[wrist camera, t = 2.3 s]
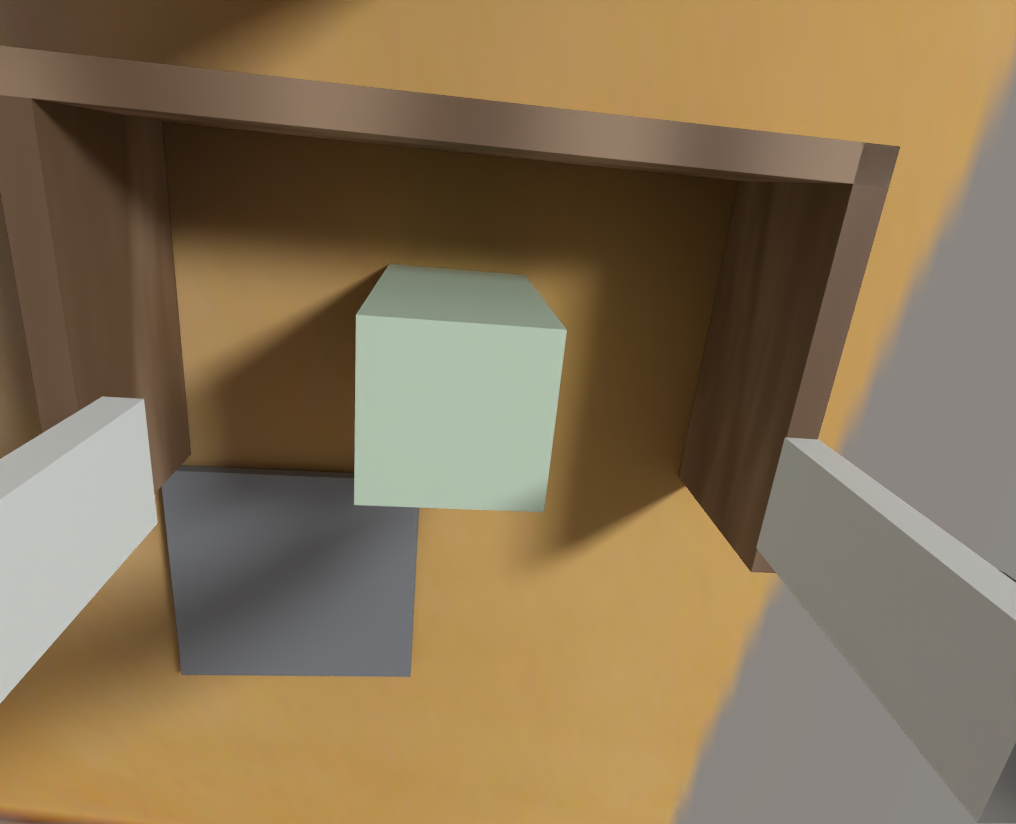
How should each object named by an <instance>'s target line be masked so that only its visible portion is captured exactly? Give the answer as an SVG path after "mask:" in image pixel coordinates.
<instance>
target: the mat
mask: <svg viewBox="0 0 1016 824" xmlns="http://www.w3.org/2000/svg"><path fill="white" fill-rule="evenodd" d="M162 495H163V505H164V514H165V524H166V533H167V542H168V552H169V561H170V570H171V580H172V589H173V599H174V608H175V617H176V627H177V636H178V645H179V655H180V664H181V674H182V675H269V676H396V677H410V673H411V655H412V635H413V614H414V594H415V574H416V554H417V534H418V513H419V507H394V506H367V505H354V473H343V472H320V471H297V470H274V469H251V468H229V467H206V466H183V465H181V466H180V467H179V468H178V469H177V470H176V471H175V472H174V473H173V474H172V475H171V476H170V478H169V479H168V480H167V481H166V482H165V483H164V484H163V485H162Z"/></svg>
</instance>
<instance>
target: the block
mask: <svg viewBox="0 0 1016 824" xmlns="http://www.w3.org/2000/svg"><path fill="white" fill-rule="evenodd" d="M566 333H567V329H566V328H565V327H564V325H563V324H562V323H561V321H560V320H559V319H558V318H557V316H556V315H555V314H554V312H553V311H552V310H551V308H550V307H549V306H548V304H547V303H546V302H545V301H544V299H543V298H542V297H541V295H540V294H539V293H538V291H537V290H536V289H535V287H534V286H533V285H532V284H531V282H530V281H529V280H528V278H527V277H526V276H525V275H521V274H509V273H496V272H484V271H472V270H459V269H447V268H435V267H422V266H410V265H398V264H389V265H388V267H387V268H386V270H385V271H384V273H383V274H382V276H381V277H380V279H379V280H378V282H377V283H376V285H375V287H374V288H373V290H372V291H371V293H370V294H369V296H368V297H367V299H366V300H365V302H364V303H363V305H362V306H361V308H360V309H359V311H358V312H357V314H356V365H355V465H354V505H367V506H394V507H420V508H446V509H473V510H499V511H526V512H544V508H545V500H546V492H547V484H548V476H549V468H550V460H551V452H552V444H553V436H554V428H555V420H556V412H557V405H558V397H559V389H560V381H561V373H562V365H563V357H564V349H565V341H566Z"/></svg>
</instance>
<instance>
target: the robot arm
mask: <svg viewBox="0 0 1016 824" xmlns="http://www.w3.org/2000/svg"><path fill="white" fill-rule="evenodd" d="M156 525H157V514H156V505H155V495H154V486H153V477H152V468H151V459H150V449H149V440H148V431H147V422H146V413H145V403H144V399H136V398H119V397H103V396H102V397H101V398H99V399H97V400H96V401H94V402H93V403H91V404H89V405H88V406H86V407H84V408H83V409H81V410H79V411H78V412H76V413H75V414H73V415H71V416H70V417H68V418H66V419H65V420H63V421H61V422H60V423H58V424H57V425H55V426H53V427H52V428H50V429H48V430H47V431H45V432H43V433H42V434H40V435H39V436H37V437H35V438H34V439H32V440H30V441H29V442H27V443H25V444H24V445H22V446H21V447H19V448H17V449H16V450H14V451H12V452H11V453H9V454H7V455H6V456H4V457H3V458H1V459H0V703H1V702H2V701H3V700H4V699H5V697H6V696H7V695H8V694H9V693H10V692H11V690H12V689H13V688H14V687H15V686H16V685H17V684H18V682H19V681H20V680H21V679H22V678H23V677H24V676H25V674H26V673H27V672H28V671H29V670H30V669H31V668H32V666H33V665H34V664H35V663H36V662H37V661H38V660H39V658H40V657H41V656H42V655H43V654H44V653H45V652H46V650H47V649H48V648H49V647H50V646H51V645H52V644H53V642H54V641H55V640H56V639H57V638H58V637H59V636H60V634H61V633H62V632H63V631H64V630H65V629H66V628H67V626H68V625H69V624H70V623H71V622H72V621H73V620H74V618H75V617H76V616H77V615H78V614H79V613H80V612H81V610H82V609H83V608H84V607H85V606H86V605H87V604H88V602H89V601H90V600H91V599H92V598H93V597H94V596H95V594H96V593H97V592H98V591H99V590H100V589H101V587H102V586H103V585H104V584H105V583H106V582H107V581H108V579H109V578H110V577H111V576H112V575H113V574H114V573H115V571H116V570H117V569H118V568H119V567H120V566H121V565H122V563H123V562H124V561H125V560H126V559H127V558H128V557H129V555H130V554H131V553H132V552H133V551H134V550H135V549H136V547H137V546H138V545H139V544H140V543H141V542H142V541H143V539H144V538H145V537H146V536H147V535H148V534H149V533H150V531H151V530H152V529H153V528H154V527H155V526H156ZM756 549H757V550H758V551H759V552H760V554H761V555H762V556H763V557H764V559H765V560H766V561H767V562H768V564H769V565H770V566H771V567H772V568H773V570H774V571H775V572H776V573H777V575H778V576H779V577H780V578H781V580H782V581H783V582H784V583H785V585H786V586H787V587H788V588H789V590H790V591H791V592H792V593H793V595H794V596H795V597H796V598H797V599H798V601H799V602H800V603H801V604H802V606H803V607H804V608H805V610H806V611H807V612H808V613H809V614H810V616H811V617H812V618H813V619H814V621H815V622H816V623H817V624H818V626H819V627H820V628H821V629H822V631H823V632H824V633H825V634H826V636H827V637H828V638H829V639H830V641H831V642H832V643H833V644H834V645H835V647H836V648H837V649H838V651H839V652H840V653H841V654H842V655H843V657H844V658H845V659H846V660H847V661H848V663H849V664H850V665H851V667H852V668H853V669H854V670H855V672H856V673H857V674H858V675H859V677H860V678H861V679H862V680H863V682H864V683H865V684H866V685H867V687H868V688H869V689H870V690H871V691H872V693H873V694H874V695H875V696H876V698H877V699H878V700H879V701H880V703H881V704H882V705H883V706H884V708H885V709H886V710H887V711H888V712H889V714H890V715H891V716H892V718H893V719H894V720H895V721H896V723H897V724H898V725H899V726H900V728H901V729H902V730H903V731H904V733H905V734H906V735H907V736H908V737H909V739H910V740H911V741H912V742H913V744H914V745H915V746H916V747H917V749H918V750H919V751H920V752H921V754H922V755H923V756H924V757H925V759H926V760H927V761H928V762H929V764H930V765H931V766H932V767H933V769H934V770H935V771H936V772H937V774H938V775H939V776H940V777H941V779H942V780H943V781H944V782H945V783H946V785H947V786H948V787H949V788H950V790H951V791H952V792H953V793H954V795H955V796H956V797H957V798H958V800H959V801H960V802H961V803H962V805H963V806H964V807H965V808H966V810H967V811H968V812H969V813H970V815H972V817H973V818H974V820H975V821H976V822H977V823H1016V581H1015V580H1014V579H1013V578H1011V577H1010V576H1008V575H1007V574H1005V573H1004V572H1002V571H1000V570H998V569H996V568H995V567H993V566H992V565H991V564H989V563H988V562H986V561H985V560H984V559H983V558H981V557H980V556H978V555H977V554H976V553H974V552H973V551H972V550H970V549H969V548H967V547H966V546H965V545H963V544H962V543H960V542H959V541H957V540H956V539H955V538H954V537H952V536H951V535H949V534H948V533H947V532H945V531H944V530H943V529H941V528H940V527H938V526H937V525H936V524H934V523H933V522H932V521H930V520H929V519H927V518H926V517H925V516H923V515H922V514H921V513H919V512H918V511H916V510H915V509H914V508H912V507H911V506H909V505H908V504H907V503H905V502H904V501H903V500H901V499H900V498H898V497H897V496H896V495H894V494H893V493H891V492H890V491H889V490H887V489H886V488H885V487H883V486H882V485H880V484H879V483H878V482H876V481H875V480H873V479H872V478H871V477H869V476H868V475H867V474H865V473H864V472H862V471H861V470H860V469H858V468H857V467H856V466H854V465H853V464H852V463H850V462H849V461H847V460H846V459H845V458H843V457H842V456H841V455H839V454H838V453H836V452H835V451H834V450H832V449H831V448H830V447H828V446H827V445H825V444H824V443H823V442H821V441H820V440H818V439H802V438H785V439H784V443H783V447H782V451H781V454H780V458H779V462H778V466H777V470H776V474H775V478H774V481H773V485H772V489H771V493H770V497H769V501H768V505H767V508H766V512H765V516H764V520H763V524H762V528H761V532H760V535H759V539H758V543H757V547H756Z"/></svg>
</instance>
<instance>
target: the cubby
mask: <svg viewBox="0 0 1016 824" xmlns="http://www.w3.org/2000/svg"><path fill="white" fill-rule="evenodd" d="M162 122H168V123H178V124H187V125H197V126H207V127H217V128H227V129H236V130H246V131H256V132H266V133H275V134H285V135H295V136H305V137H314V138H324V139H334V140H344V141H353V142H363V143H373V144H383V145H392V146H402V147H412V148H422V149H432V150H441V151H451V152H461V153H471V154H480V155H490V156H500V157H510V158H519V159H529V160H539V161H549V162H558V163H568V164H578V165H588V166H598V167H607V168H617V169H627V170H637V171H646V172H656V173H666V174H676V175H685V176H695V177H705V178H715V179H724V180H734V181H739V184H738V189H737V194H736V199H735V204H734V209H733V214H732V218H731V223H730V228H729V233H728V238H727V243H726V248H725V253H724V258H723V262H722V267H721V272H720V277H719V282H718V287H717V292H716V297H715V301H714V306H713V311H712V316H711V321H710V326H709V331H708V336H707V341H706V345H705V350H704V355H703V360H702V365H701V370H700V375H699V380H698V385H697V389H696V394H695V399H694V404H693V409H692V414H691V419H690V424H689V428H688V433H687V438H686V443H685V448H684V453H683V458H682V463H681V468H680V472H679V478H680V479H681V481H682V482H683V483H684V484H685V486H686V487H687V488H688V490H689V491H690V492H691V494H692V495H693V496H694V498H695V499H696V500H697V502H698V503H699V504H700V506H701V507H702V508H703V509H704V511H705V512H706V513H707V515H708V516H709V517H710V519H711V520H712V521H713V523H714V524H715V525H716V527H717V528H718V529H719V531H720V532H721V533H722V534H723V536H724V537H725V538H726V540H727V541H728V542H729V544H730V545H731V546H732V548H733V549H734V550H735V552H736V553H737V554H738V556H739V557H740V558H741V559H742V561H743V562H744V563H745V565H746V566H747V567H748V569H749V570H750V571H751V572H765V573H776V572H775V571H774V570H773V568H772V567H771V566H770V565H769V564H768V562H767V561H766V560H765V559H764V557H763V556H762V555H761V554H760V552H759V551H758V550H757V549H756V547H757V543H758V539H759V535H760V532H761V528H762V524H763V520H764V516H765V512H766V508H767V505H768V501H769V497H770V493H771V489H772V485H773V481H774V478H775V474H776V470H777V466H778V462H779V458H780V454H781V451H782V447H783V443H784V439H785V438H802V439H818V436H819V433H820V429H821V426H822V422H823V418H824V415H825V411H826V408H827V404H828V401H829V397H830V394H831V390H832V387H833V383H834V379H835V376H836V372H837V369H838V365H839V362H840V358H841V355H842V351H843V348H844V344H845V340H846V337H847V333H848V330H849V326H850V323H851V319H852V316H853V312H854V308H855V305H856V301H857V298H858V294H859V291H860V287H861V284H862V280H863V277H864V273H865V269H866V266H867V262H868V259H869V255H870V252H871V248H872V245H873V241H874V238H875V234H876V230H877V227H878V223H879V220H880V216H881V213H882V209H883V206H884V202H885V199H886V195H887V191H888V188H889V184H890V181H891V177H892V174H893V170H894V167H895V163H896V160H897V156H898V152H899V149H900V147H899V146H890V145H881V144H872V143H863V142H854V141H845V140H837V139H828V138H819V137H810V136H801V135H792V134H783V133H774V132H765V131H756V130H748V129H739V128H730V127H721V126H712V125H703V124H694V123H685V122H676V121H667V120H659V119H650V118H641V117H632V116H623V115H614V114H605V113H596V112H587V111H578V110H570V109H561V108H552V107H543V106H534V105H525V104H516V103H507V102H498V101H489V100H481V99H472V98H463V97H454V96H445V95H436V94H427V93H418V92H409V91H400V90H392V89H383V88H374V87H365V86H356V85H347V84H338V83H329V82H320V81H311V80H303V79H294V78H285V77H276V76H267V75H258V74H249V73H240V72H231V71H222V70H214V69H205V68H196V67H187V66H178V65H169V64H160V63H151V62H142V61H133V60H125V59H116V58H107V57H98V56H89V55H80V54H71V53H62V52H53V51H44V50H36V49H27V48H18V47H9V46H0V194H1V199H2V205H3V211H4V217H5V222H6V228H7V234H8V240H9V246H10V251H11V257H12V263H13V269H14V274H15V280H16V286H17V292H18V297H19V303H20V309H21V315H22V321H23V326H24V332H25V338H26V344H27V349H28V355H29V361H30V367H31V372H32V378H33V384H34V390H35V396H36V401H37V407H38V413H39V419H40V424H41V430H42V433H43V432H45V431H47V430H48V429H50V428H52V427H53V426H55V425H57V424H58V423H60V422H61V421H63V420H65V419H66V418H68V417H70V416H71V415H73V414H75V413H76V412H78V411H79V410H81V409H83V408H84V407H86V406H88V405H89V404H91V403H93V402H94V401H96V400H97V399H99V398H101V397H102V396H103V397H119V398H136V399H144V403H145V413H146V422H147V431H148V440H149V449H150V459H151V468H152V477H153V486H154V494H155V493H156V492H157V491H158V490H159V488H160V487H161V486H162V485H163V484H164V483H165V482H166V481H167V480H168V479H169V478H170V476H171V475H172V474H173V473H174V472H175V471H176V470H177V469H178V468H179V467H180V466H181V464H182V463H183V462H184V461H185V460H186V459H187V458H188V457H189V456H190V455H191V452H190V440H189V429H188V417H187V406H186V394H185V383H184V371H183V360H182V348H181V337H180V326H179V314H178V303H177V291H176V280H175V268H174V257H173V245H172V234H171V222H170V211H169V200H168V188H167V177H166V165H165V154H164V142H163V131H162Z"/></svg>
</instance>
